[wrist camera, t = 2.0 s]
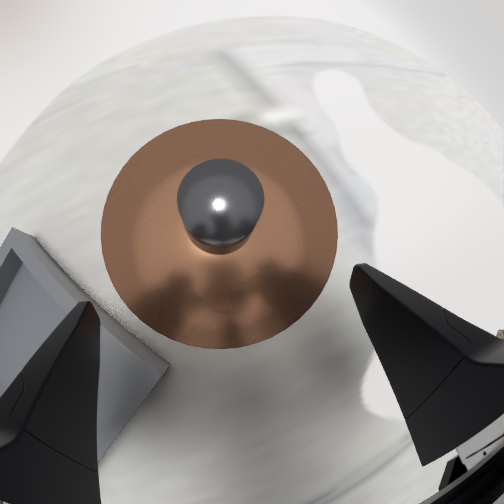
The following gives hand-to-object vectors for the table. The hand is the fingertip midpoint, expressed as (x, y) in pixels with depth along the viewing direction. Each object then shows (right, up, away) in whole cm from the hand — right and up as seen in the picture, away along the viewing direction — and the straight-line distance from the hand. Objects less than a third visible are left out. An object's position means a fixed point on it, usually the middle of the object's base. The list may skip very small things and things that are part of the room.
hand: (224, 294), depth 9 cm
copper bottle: (-1, 0, +9) cm, 9 cm away
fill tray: (-14, -7, +6) cm, 17 cm away
